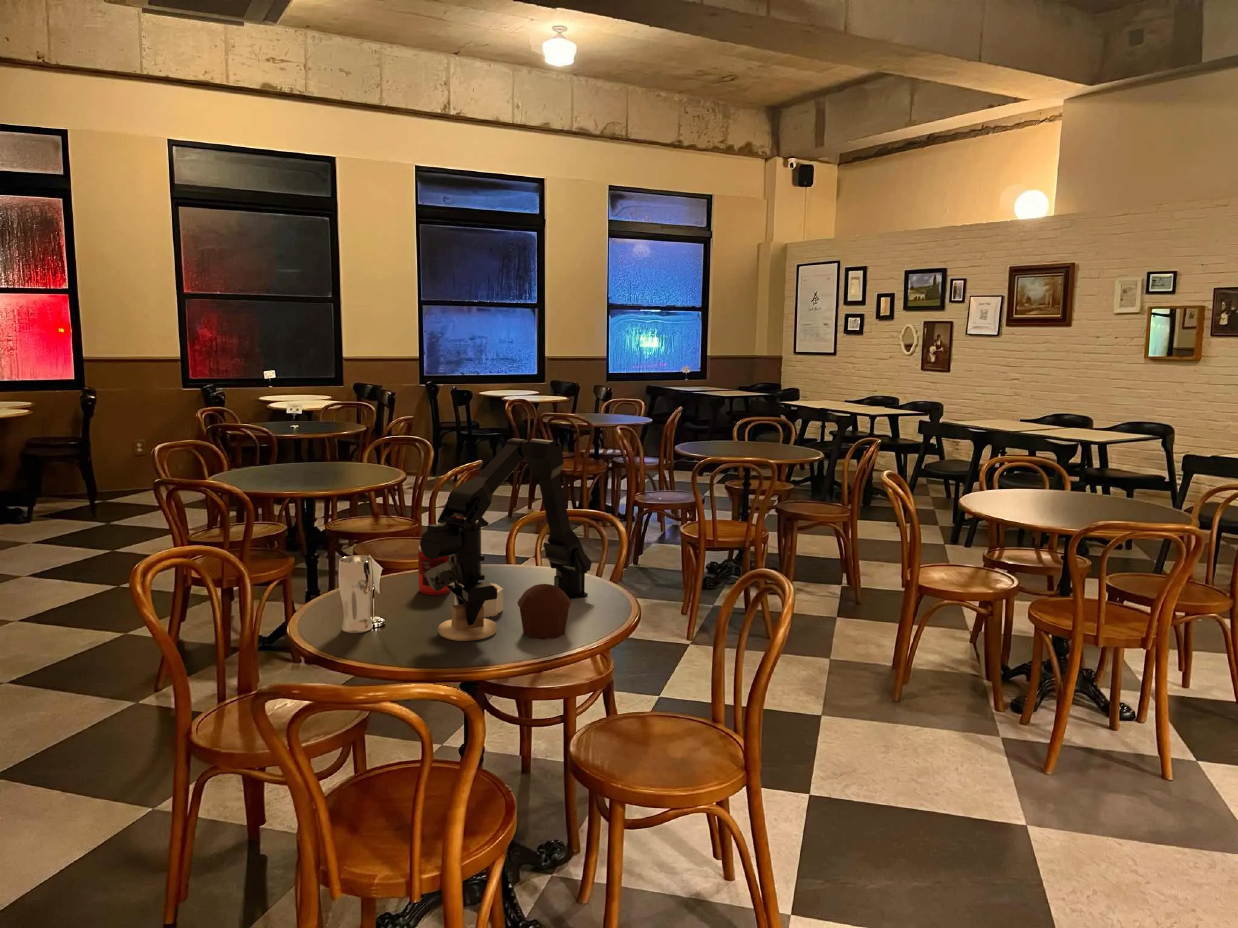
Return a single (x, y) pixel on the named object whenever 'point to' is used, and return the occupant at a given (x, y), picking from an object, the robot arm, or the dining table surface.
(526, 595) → the muffin
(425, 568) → the canned food
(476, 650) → the dining table surface
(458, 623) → the lid
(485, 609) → the hollow octagonal cup
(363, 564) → the beer glass
